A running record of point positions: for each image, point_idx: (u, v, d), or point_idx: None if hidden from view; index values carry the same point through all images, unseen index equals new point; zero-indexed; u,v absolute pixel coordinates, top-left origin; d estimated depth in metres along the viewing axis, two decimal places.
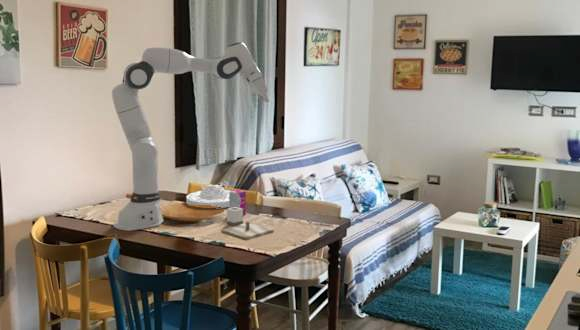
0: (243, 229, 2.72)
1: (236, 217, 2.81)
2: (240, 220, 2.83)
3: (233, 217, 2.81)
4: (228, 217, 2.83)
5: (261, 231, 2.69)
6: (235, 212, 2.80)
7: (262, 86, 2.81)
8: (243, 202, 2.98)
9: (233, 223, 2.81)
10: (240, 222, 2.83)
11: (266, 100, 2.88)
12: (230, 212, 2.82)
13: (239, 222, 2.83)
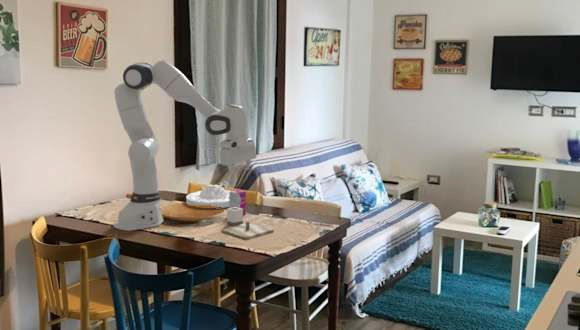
0: (243, 229, 2.72)
1: (236, 217, 2.81)
2: (240, 220, 2.83)
3: (233, 217, 2.81)
4: (228, 217, 2.83)
5: (261, 231, 2.69)
6: (235, 212, 2.80)
7: (223, 157, 2.72)
8: (243, 202, 2.98)
9: (233, 223, 2.81)
10: (240, 222, 2.83)
11: (230, 172, 2.77)
12: (230, 212, 2.82)
13: (239, 222, 2.83)
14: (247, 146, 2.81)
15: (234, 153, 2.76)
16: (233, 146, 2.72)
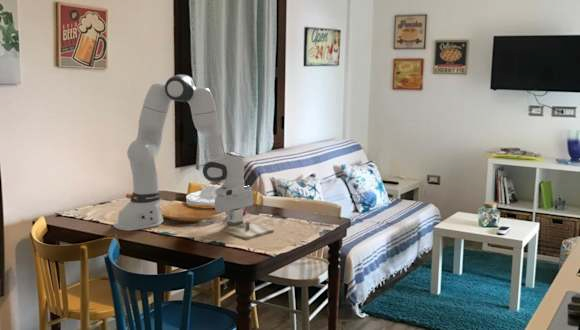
0: (243, 229, 2.72)
1: (236, 217, 2.81)
2: (240, 220, 2.83)
3: (233, 217, 2.81)
4: None
5: (261, 231, 2.69)
6: (235, 212, 2.80)
7: (218, 204, 2.75)
8: None
9: (233, 223, 2.81)
10: (240, 222, 2.83)
11: (228, 217, 2.81)
12: (230, 212, 2.82)
13: (239, 222, 2.83)
14: (244, 193, 2.84)
15: (229, 200, 2.78)
16: (228, 194, 2.75)
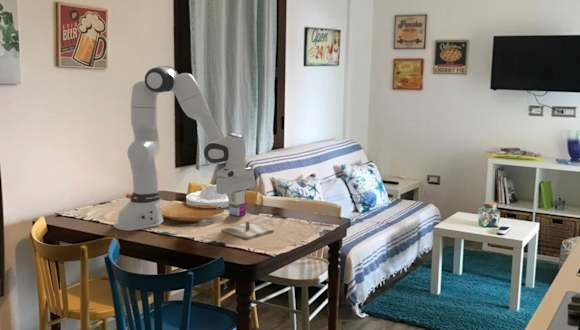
0: (243, 229, 2.72)
1: (238, 199, 2.78)
2: (242, 202, 2.80)
3: (235, 199, 2.78)
4: None
5: (261, 231, 2.69)
6: (237, 194, 2.77)
7: (219, 186, 2.72)
8: None
9: (235, 205, 2.78)
10: (242, 205, 2.80)
11: (229, 200, 2.78)
12: None
13: (241, 204, 2.80)
14: (245, 175, 2.80)
15: (231, 182, 2.75)
16: (230, 175, 2.72)
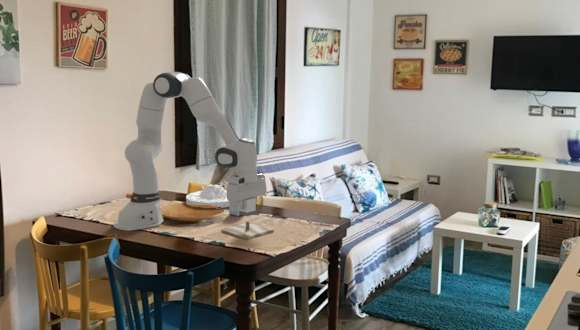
0: (243, 229, 2.72)
1: (249, 207, 2.68)
2: (253, 210, 2.70)
3: (246, 207, 2.67)
4: None
5: (261, 231, 2.69)
6: (248, 201, 2.67)
7: (230, 193, 2.62)
8: None
9: (246, 213, 2.68)
10: (253, 212, 2.70)
11: (240, 207, 2.68)
12: (242, 202, 2.69)
13: (252, 212, 2.70)
14: (256, 182, 2.70)
15: (242, 189, 2.65)
16: (240, 182, 2.62)
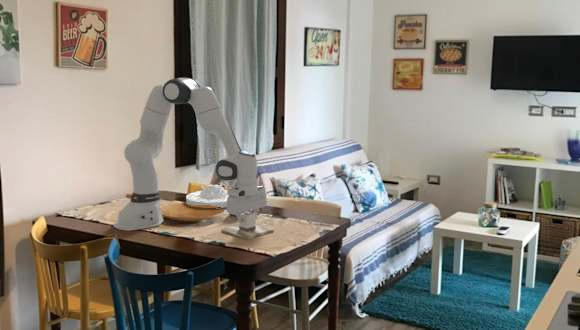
0: None
1: (249, 222, 2.69)
2: (253, 226, 2.71)
3: (245, 222, 2.69)
4: None
5: (261, 231, 2.69)
6: (248, 217, 2.68)
7: (230, 206, 2.63)
8: None
9: (245, 229, 2.69)
10: (252, 228, 2.71)
11: (238, 220, 2.68)
12: (242, 217, 2.70)
13: (252, 228, 2.71)
14: (257, 194, 2.71)
15: (242, 202, 2.66)
16: (241, 195, 2.63)
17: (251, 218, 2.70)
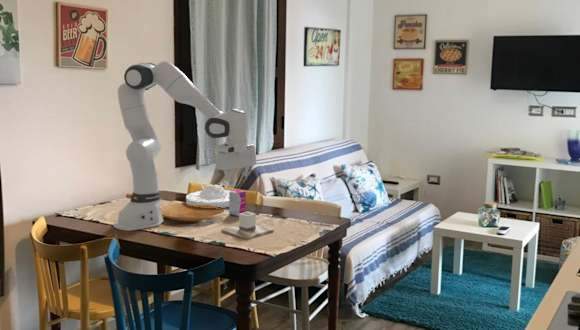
0: None
1: (249, 222, 2.69)
2: (253, 226, 2.71)
3: (245, 222, 2.69)
4: (240, 222, 2.71)
5: (261, 231, 2.69)
6: (248, 217, 2.68)
7: (219, 161, 2.67)
8: (243, 202, 2.98)
9: (245, 229, 2.69)
10: (252, 228, 2.71)
11: (226, 177, 2.72)
12: (242, 217, 2.70)
13: (252, 228, 2.71)
14: (246, 152, 2.76)
15: (231, 158, 2.70)
16: (230, 151, 2.67)
17: (251, 218, 2.70)
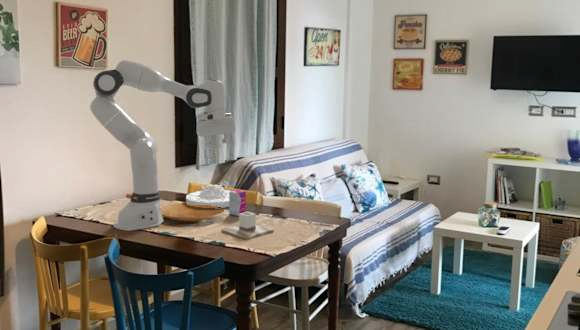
0: None
1: (249, 222, 2.69)
2: (253, 226, 2.71)
3: (245, 222, 2.69)
4: (240, 222, 2.71)
5: (261, 231, 2.69)
6: (248, 217, 2.68)
7: (199, 128, 2.84)
8: (243, 202, 2.98)
9: (245, 229, 2.69)
10: (252, 228, 2.71)
11: (207, 143, 2.89)
12: (242, 217, 2.70)
13: (252, 228, 2.71)
14: (225, 120, 2.92)
15: (211, 125, 2.87)
16: (209, 118, 2.84)
17: (251, 218, 2.70)
